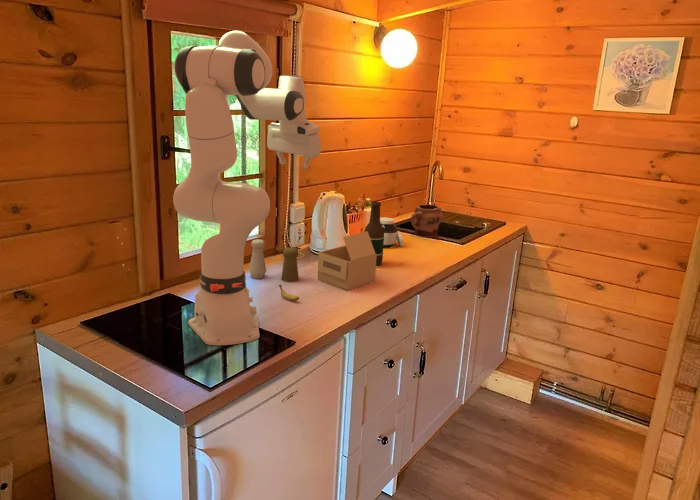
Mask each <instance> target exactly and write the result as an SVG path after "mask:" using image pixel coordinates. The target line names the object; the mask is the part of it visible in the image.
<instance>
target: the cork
mask: <svg viewBox="0 0 700 500" xmlns="http://www.w3.org/2000/svg"><path fill="white" fill-rule="evenodd" d="M282 256H283V258H284V259H283V265H282V272H281V278H280V280H281V281H283V282H285V283H287V282H288V283H293V282H298V281H299V279H300V277H299V276H300V275H299V267H298V260H297V258H298V256H299V251H298V249H297V248H296V247H291V246H290V247H285V248H283V251H282Z"/></svg>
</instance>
